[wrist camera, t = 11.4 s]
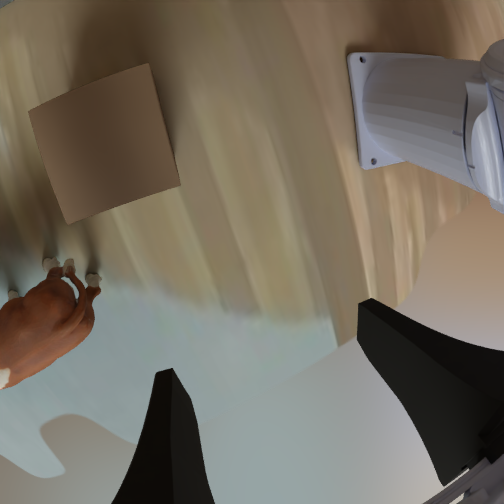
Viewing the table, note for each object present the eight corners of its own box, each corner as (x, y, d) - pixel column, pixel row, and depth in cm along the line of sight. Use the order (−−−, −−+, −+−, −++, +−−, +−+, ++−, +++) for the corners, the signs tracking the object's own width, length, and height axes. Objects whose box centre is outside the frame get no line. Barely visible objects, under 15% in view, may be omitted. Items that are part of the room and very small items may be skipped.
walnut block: (153, 75, 15) (148, 62, 9) (174, 158, 17) (181, 185, 12) (69, 105, 14) (28, 111, 9) (93, 185, 16) (67, 225, 11)
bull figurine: (-32, 305, 17) (-72, 379, 10) (89, 227, 17) (55, 309, 10) (0, 344, 19) (-27, 422, 12) (124, 281, 20) (116, 376, 13)
